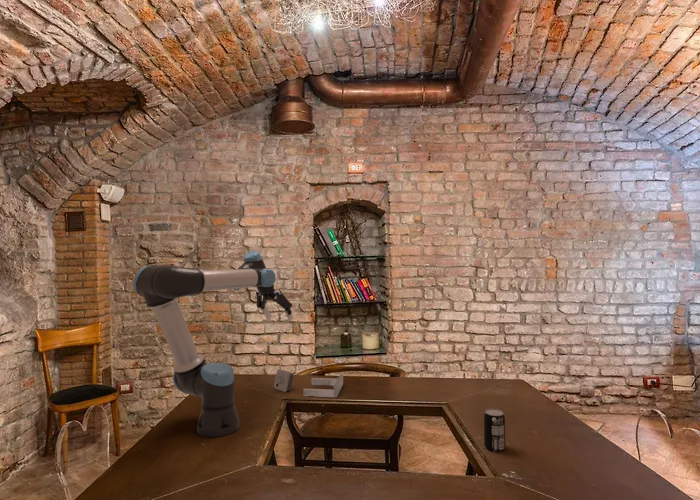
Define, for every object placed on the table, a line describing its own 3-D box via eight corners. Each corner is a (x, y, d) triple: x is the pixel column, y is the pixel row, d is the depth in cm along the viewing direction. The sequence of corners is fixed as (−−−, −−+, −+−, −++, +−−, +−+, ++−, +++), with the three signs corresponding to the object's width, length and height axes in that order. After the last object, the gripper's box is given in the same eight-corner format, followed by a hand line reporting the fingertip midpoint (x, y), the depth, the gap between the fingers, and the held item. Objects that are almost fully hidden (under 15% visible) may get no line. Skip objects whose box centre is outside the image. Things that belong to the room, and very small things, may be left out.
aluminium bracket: (336, 397, 196) (336, 386, 196) (303, 396, 198) (303, 385, 198) (343, 384, 213) (343, 374, 213) (312, 383, 216) (312, 373, 216)
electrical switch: (273, 388, 210) (274, 369, 210) (281, 387, 213) (283, 367, 214) (285, 393, 203) (286, 372, 204) (293, 391, 207) (295, 371, 207)
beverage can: (488, 441, 149) (488, 406, 149) (508, 447, 145) (507, 411, 145) (481, 448, 144) (480, 412, 144) (500, 454, 140) (500, 417, 140)
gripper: (289, 277, 197) (304, 315, 206) (249, 278, 210) (265, 313, 219) (279, 287, 192) (296, 325, 200) (239, 286, 205) (256, 322, 214)
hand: (280, 319), depth 210 cm, fingers open, 13 cm apart
